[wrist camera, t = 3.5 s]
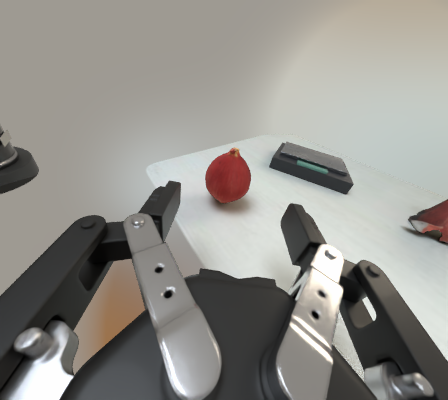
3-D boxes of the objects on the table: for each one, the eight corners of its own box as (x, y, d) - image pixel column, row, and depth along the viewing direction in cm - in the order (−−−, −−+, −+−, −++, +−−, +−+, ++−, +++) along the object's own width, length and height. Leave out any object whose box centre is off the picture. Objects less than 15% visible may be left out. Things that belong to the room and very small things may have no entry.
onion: (201, 188, 26) (208, 135, 21) (237, 191, 27) (251, 141, 22) (203, 214, 21) (213, 154, 16) (247, 216, 22) (267, 160, 18)
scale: (269, 167, 37) (274, 153, 35) (279, 150, 48) (283, 139, 46) (346, 194, 33) (356, 180, 31) (338, 170, 44) (345, 158, 42)
